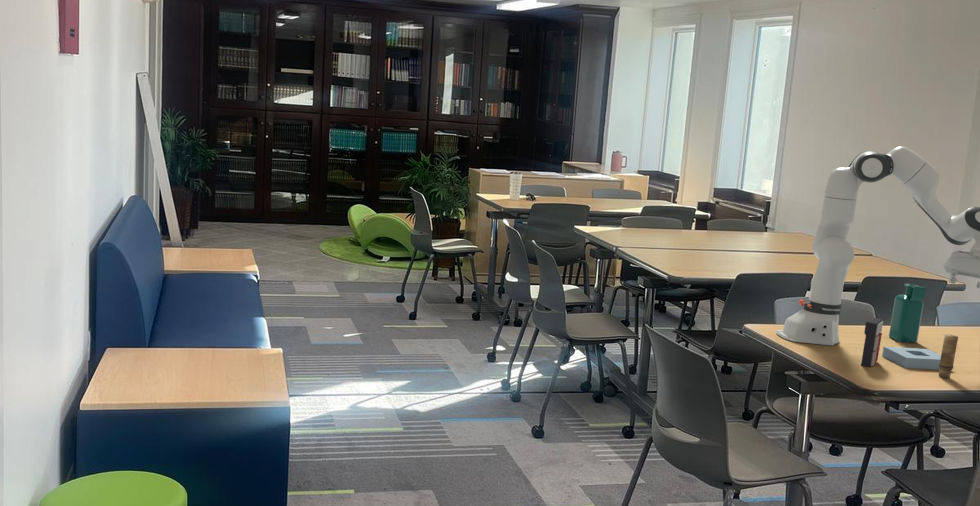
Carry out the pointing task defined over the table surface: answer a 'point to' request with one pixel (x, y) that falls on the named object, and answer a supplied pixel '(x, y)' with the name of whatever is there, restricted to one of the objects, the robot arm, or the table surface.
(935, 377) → the table surface
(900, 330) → the teal bottle
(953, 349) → the peg
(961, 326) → the table surface
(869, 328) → the calculator
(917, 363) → the seat board
